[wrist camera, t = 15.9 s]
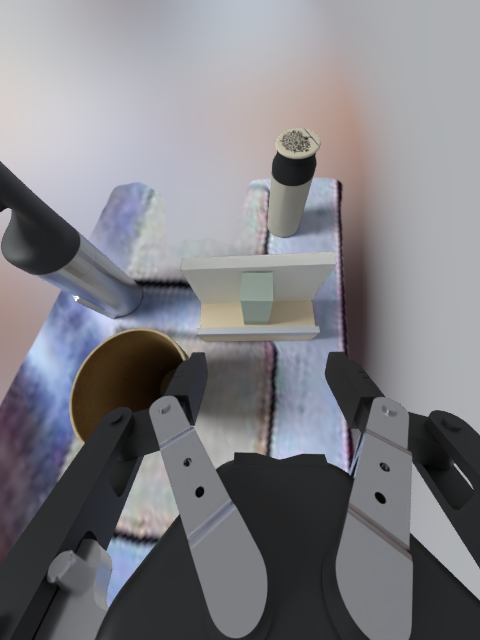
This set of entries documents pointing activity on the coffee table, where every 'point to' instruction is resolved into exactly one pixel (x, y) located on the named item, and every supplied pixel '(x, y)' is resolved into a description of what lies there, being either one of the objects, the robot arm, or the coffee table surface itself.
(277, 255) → the white display stand
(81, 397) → the plant pot
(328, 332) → the coffee table surface
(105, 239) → the coffee table surface
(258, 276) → the pale green block
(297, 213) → the travel mug
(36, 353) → the coffee table surface
